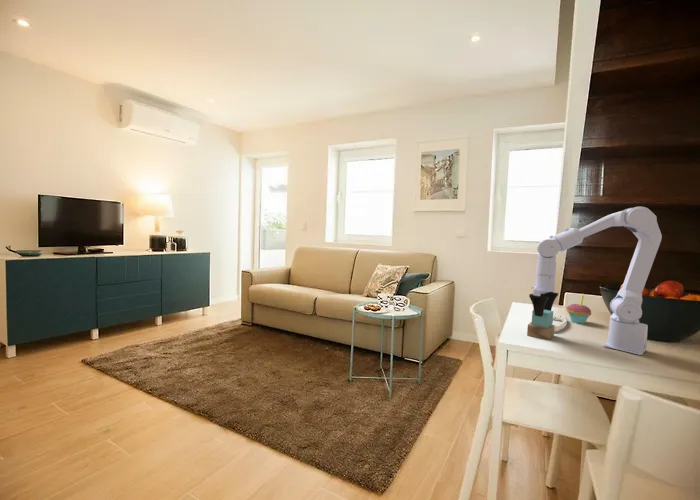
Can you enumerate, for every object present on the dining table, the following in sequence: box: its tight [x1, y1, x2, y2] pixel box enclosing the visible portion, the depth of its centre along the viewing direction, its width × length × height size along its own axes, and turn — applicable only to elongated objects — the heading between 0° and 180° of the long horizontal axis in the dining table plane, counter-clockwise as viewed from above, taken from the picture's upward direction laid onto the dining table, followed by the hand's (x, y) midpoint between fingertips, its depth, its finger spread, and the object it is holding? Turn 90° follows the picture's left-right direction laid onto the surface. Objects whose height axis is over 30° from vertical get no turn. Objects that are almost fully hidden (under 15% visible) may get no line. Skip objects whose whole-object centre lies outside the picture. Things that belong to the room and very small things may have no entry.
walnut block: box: [526, 321, 555, 341], centre depth 120 cm, size 7×7×4 cm
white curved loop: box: [553, 314, 568, 333], centre depth 134 cm, size 3×10×25 cm
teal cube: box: [530, 309, 554, 328], centre depth 119 cm, size 5×5×5 cm
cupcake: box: [565, 293, 592, 325], centre depth 139 cm, size 9×8×12 cm
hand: (542, 314), depth 119 cm, fingers open, 7 cm apart
